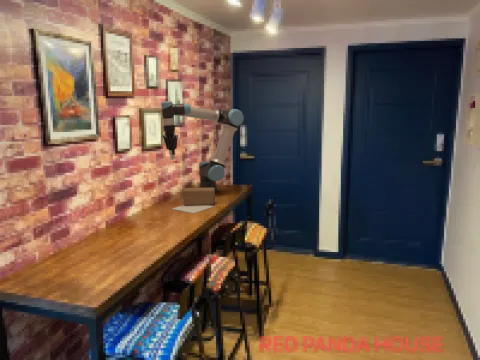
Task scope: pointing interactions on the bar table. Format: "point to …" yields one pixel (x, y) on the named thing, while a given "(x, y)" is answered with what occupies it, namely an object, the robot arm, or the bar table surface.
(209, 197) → the wooden block
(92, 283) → the bar table surface
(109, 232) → the bar table surface
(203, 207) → the mat
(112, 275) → the bar table surface
